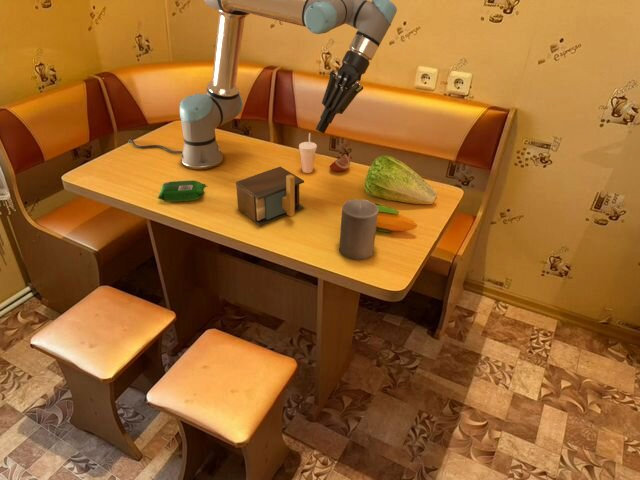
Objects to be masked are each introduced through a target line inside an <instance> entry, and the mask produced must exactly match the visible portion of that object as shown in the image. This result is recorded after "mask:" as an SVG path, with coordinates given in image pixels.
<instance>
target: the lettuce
mask: <svg viewBox="0 0 640 480" xmlns="http://www.w3.org/2000/svg"><path fill="white" fill-rule="evenodd" d="M363 185H364V186H363V187H364V192H365V193H366V194H367V195H368V196H371V197H375V198H380V199H384V200H387V201H395V202H402V203H406V204H413V205H433V204H434V203H435V201H436V200H437V197H438V192H437V191H436V190H435V189H434V187H433V186H431V185H430V184H429V183H428V182H427V181H426V180H425V179H424V178H423V177H422V176H421V175H420V174H418V173H417V172H416V171H414V169H412V168H411V167H409V166H408V165H407V164H406V163H404V162H403V161H401V160H400V159H397V158H396V157H393V156H391V155H387V154H383V155H380V156H377V157H376V158H375V159H374V160H373V162H372V163H371V165H370V166H369V169H368V171H367V172H366V175H365V179H364V183H363Z"/></svg>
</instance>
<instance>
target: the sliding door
mask: <svg viewBox="0 0 640 480" xmlns="http://www.w3.org/2000/svg"><path fill="white" fill-rule="evenodd" d="M286 212H287V216H289V217H290V218H291V217H293V216H295V213H296V212H295V177H294V176H293V175H291V174H290V175H287V176H286V190H283V191H280V192H278V193H275V194H272V195H270V196H267V197H265V217H266V220H268V219H271V218H273V217H276V216H278V215H281V214H283V213H286Z"/></svg>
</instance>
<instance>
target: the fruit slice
mask: <svg viewBox="0 0 640 480" xmlns="http://www.w3.org/2000/svg"><path fill="white" fill-rule="evenodd" d="M350 165H351V161H350V158H349V156H348V155H347V154H346V153H344V154H343V155H341V156H340V157H339V158H336V159H335V160H334V161H333V162H332V163H331V164H330V165H329V168H330V169H331V170H332V171H334V172H343V171H346V170H347V169H349V168H350Z"/></svg>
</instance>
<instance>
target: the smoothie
mask: <svg viewBox="0 0 640 480" xmlns="http://www.w3.org/2000/svg"><path fill="white" fill-rule="evenodd" d="M298 149H299V154H300V155H299V156H300V162H301V163H300V164H301V171H302V172H303V173H305V174H310V173H312V172H313V170H314V166H315V165H314V163H315V158H316V151H317V149H318V144H316V143H315V142H312V141H311V132H309V133H308V141H304V142H303V141H302V142H300V143H299V144H298Z"/></svg>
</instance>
